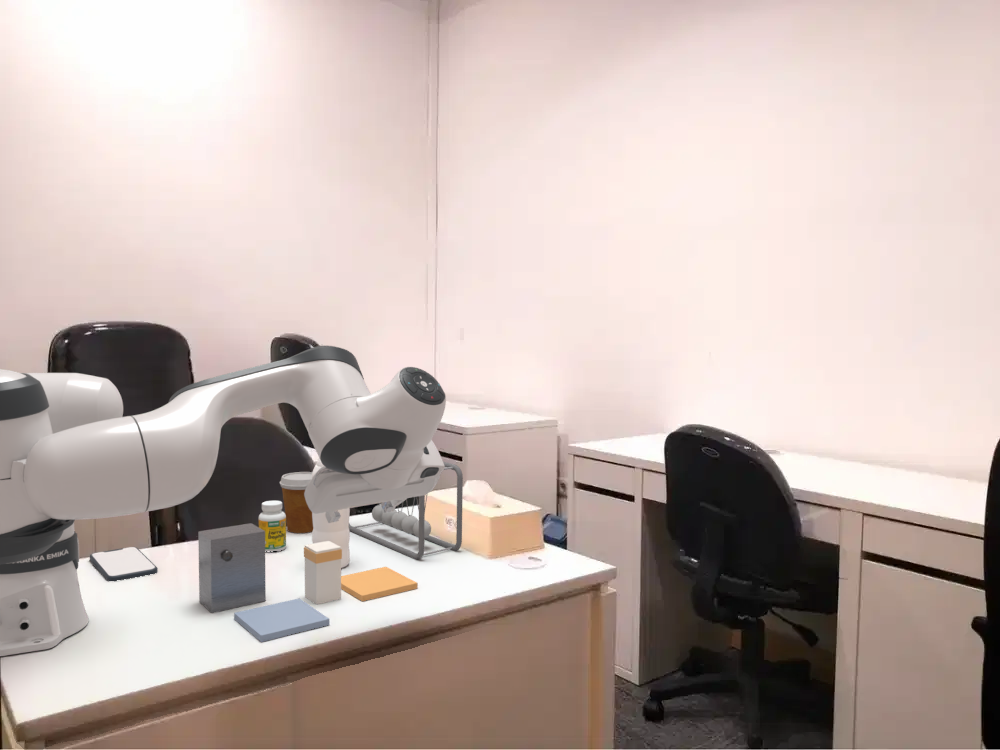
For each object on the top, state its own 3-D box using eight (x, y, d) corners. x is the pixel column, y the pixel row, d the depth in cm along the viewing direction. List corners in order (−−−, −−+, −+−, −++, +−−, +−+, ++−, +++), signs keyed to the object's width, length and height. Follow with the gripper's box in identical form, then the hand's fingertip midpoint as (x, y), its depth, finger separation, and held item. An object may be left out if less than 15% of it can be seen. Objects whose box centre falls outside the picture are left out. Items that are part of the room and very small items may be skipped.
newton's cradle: (462, 552, 166) (464, 466, 165) (420, 562, 159) (421, 472, 158) (382, 521, 189) (382, 445, 187) (342, 528, 182) (342, 449, 180)
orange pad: (362, 601, 138) (362, 595, 138) (332, 583, 146) (332, 577, 146) (417, 588, 145) (417, 582, 145) (385, 571, 153) (385, 566, 153)
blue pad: (261, 642, 121) (261, 635, 121) (234, 618, 129) (234, 612, 129) (329, 625, 128) (329, 618, 128) (299, 604, 136) (299, 598, 136)
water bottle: (354, 560, 160) (354, 433, 158) (343, 571, 153) (343, 439, 151) (318, 558, 160) (318, 432, 158) (307, 570, 154) (306, 438, 151)
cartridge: (316, 604, 136) (316, 551, 135) (304, 596, 140) (303, 545, 139) (341, 598, 139) (341, 547, 138) (329, 591, 143) (329, 540, 142)
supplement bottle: (278, 543, 170) (277, 498, 169) (291, 549, 166) (291, 503, 165) (253, 548, 166) (253, 502, 165) (267, 554, 162) (266, 507, 161)
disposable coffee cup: (284, 537, 174) (284, 482, 173) (276, 526, 183) (275, 473, 182) (328, 532, 178) (328, 478, 177) (318, 522, 187) (318, 470, 186)
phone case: (160, 576, 151) (136, 553, 163) (159, 568, 150) (136, 545, 163) (108, 586, 145) (87, 561, 158) (107, 577, 145) (87, 553, 157)
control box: (213, 614, 131) (211, 540, 130) (198, 601, 137) (197, 530, 136) (267, 602, 137) (266, 531, 136) (251, 590, 142) (250, 522, 141)
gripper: (326, 485, 110) (301, 542, 119) (454, 466, 122) (423, 519, 131) (312, 449, 114) (288, 507, 122) (437, 433, 126) (408, 487, 134)
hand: (359, 513), depth 127 cm, fingers open, 8 cm apart
